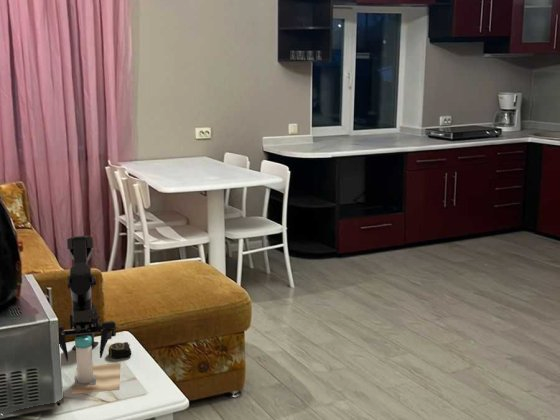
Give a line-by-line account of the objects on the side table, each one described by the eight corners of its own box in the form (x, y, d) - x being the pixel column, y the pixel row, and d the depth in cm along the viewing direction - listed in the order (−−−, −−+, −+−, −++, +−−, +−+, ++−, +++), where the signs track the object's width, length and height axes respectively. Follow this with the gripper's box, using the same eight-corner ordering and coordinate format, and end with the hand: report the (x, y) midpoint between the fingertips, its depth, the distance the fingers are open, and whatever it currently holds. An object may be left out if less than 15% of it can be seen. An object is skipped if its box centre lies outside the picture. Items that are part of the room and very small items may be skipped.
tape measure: (131, 359, 214) (131, 348, 213) (109, 362, 212) (109, 351, 211) (129, 351, 221) (129, 340, 220) (108, 353, 219) (107, 342, 218)
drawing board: (77, 367, 208) (77, 365, 208) (120, 364, 210) (120, 362, 210) (71, 395, 191) (71, 393, 190) (119, 391, 193) (119, 389, 193)
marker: (83, 375, 201) (81, 334, 198) (97, 378, 200) (94, 336, 197) (74, 382, 197) (71, 340, 194) (87, 384, 196) (85, 342, 193)
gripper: (47, 300, 194) (47, 352, 186) (114, 295, 199) (117, 345, 191) (50, 316, 204) (50, 366, 196) (114, 311, 208) (117, 359, 200)
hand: (84, 359), depth 195 cm, fingers open, 9 cm apart
